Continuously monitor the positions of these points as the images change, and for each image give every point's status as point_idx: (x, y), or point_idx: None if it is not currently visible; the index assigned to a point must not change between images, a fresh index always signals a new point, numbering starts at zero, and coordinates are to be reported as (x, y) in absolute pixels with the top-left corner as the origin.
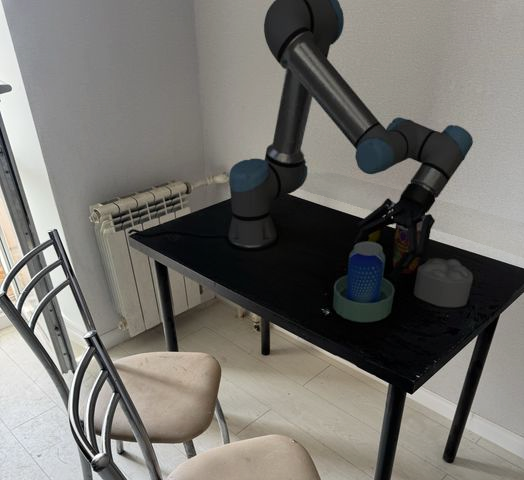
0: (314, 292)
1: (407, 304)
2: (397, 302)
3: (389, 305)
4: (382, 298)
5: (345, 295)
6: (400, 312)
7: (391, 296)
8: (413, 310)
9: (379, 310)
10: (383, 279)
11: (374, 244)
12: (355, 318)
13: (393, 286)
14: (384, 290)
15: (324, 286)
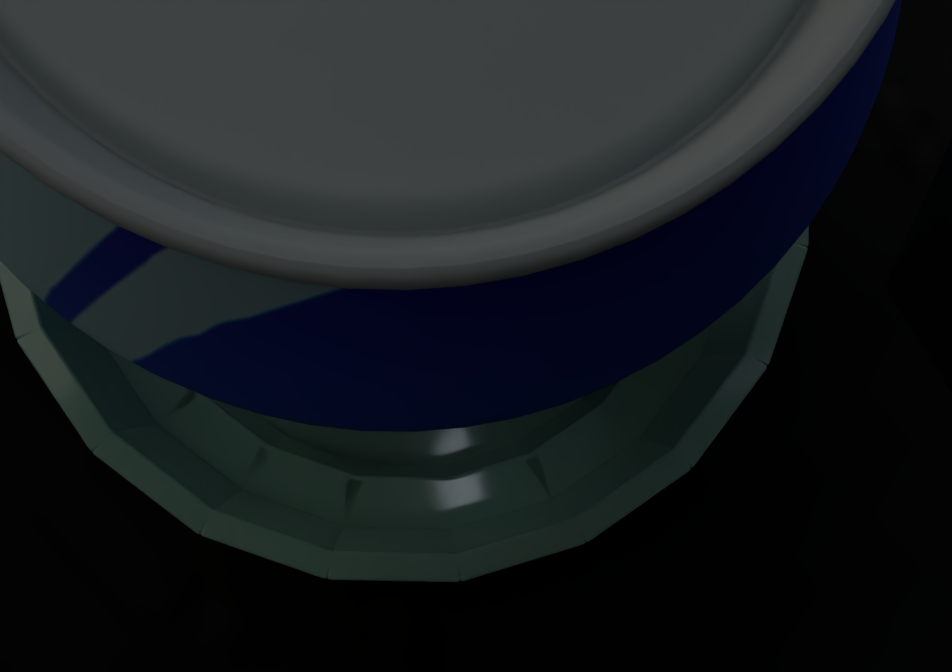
0: (918, 33)
1: (134, 633)
2: (231, 576)
3: None
4: (345, 460)
5: None
6: (76, 455)
7: (6, 292)
8: (11, 594)
9: None
10: (408, 550)
11: (531, 229)
12: None
13: (172, 512)
14: (349, 502)
15: None
